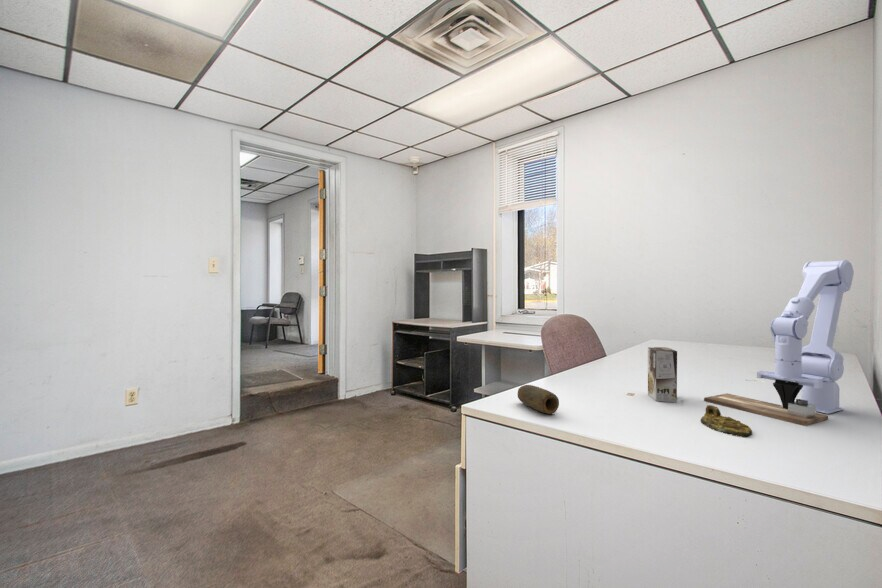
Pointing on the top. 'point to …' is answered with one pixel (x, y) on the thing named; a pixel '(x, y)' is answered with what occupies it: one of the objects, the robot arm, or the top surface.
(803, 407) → the knob
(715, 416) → the seal
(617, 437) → the top surface
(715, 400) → the counting board
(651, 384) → the coffee box
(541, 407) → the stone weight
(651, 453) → the top surface
